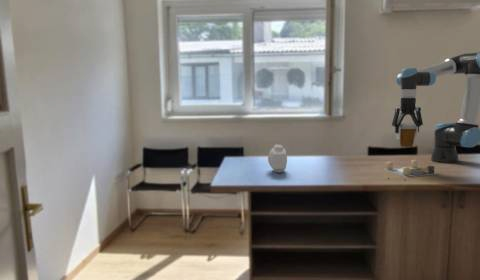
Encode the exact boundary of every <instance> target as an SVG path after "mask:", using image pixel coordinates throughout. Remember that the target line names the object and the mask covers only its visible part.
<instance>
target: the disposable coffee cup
mask: <svg viewBox="0 0 480 280" xmlns="http://www.w3.org/2000/svg"><path fill="white" fill-rule="evenodd" d="M399 127H401V130H400V139H399V146H400V147H403V148H411V147H414V141H415V138H414V136H415V130H416V124H414V123H401V124H400V126H399Z"/></svg>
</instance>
